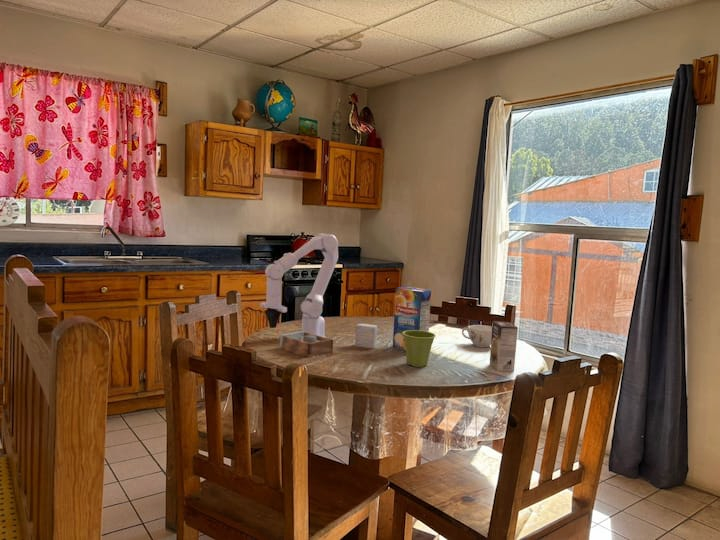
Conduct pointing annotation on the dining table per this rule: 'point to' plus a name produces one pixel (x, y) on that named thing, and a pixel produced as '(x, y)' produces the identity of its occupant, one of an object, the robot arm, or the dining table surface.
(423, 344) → the plant pot
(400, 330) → the juice carton
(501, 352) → the coffee box
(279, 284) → the robot arm
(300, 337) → the tray
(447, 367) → the dining table surface
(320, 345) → the shallow wooden crate
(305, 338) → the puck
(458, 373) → the dining table surface
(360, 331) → the medicine box
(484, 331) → the teacup
